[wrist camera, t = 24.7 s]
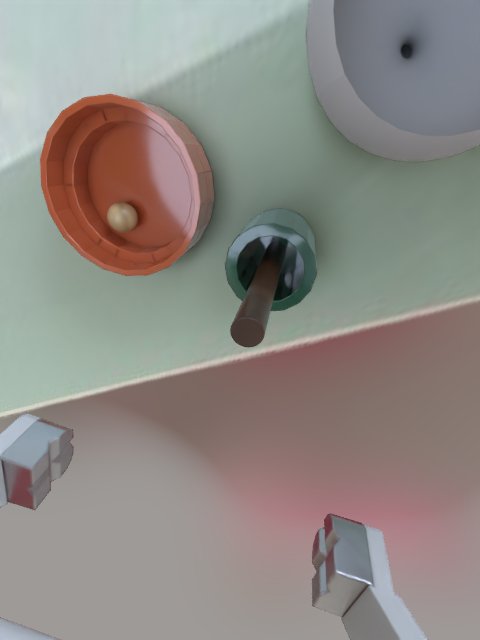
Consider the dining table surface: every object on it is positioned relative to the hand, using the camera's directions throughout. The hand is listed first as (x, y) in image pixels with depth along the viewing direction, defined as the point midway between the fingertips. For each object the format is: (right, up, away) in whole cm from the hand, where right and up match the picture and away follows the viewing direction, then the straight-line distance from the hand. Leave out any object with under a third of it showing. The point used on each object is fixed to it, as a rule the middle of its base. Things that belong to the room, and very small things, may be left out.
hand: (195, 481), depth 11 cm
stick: (+5, +12, +25) cm, 28 cm away
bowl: (-9, +19, +25) cm, 33 cm away
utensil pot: (+5, +13, +25) cm, 29 cm away
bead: (-11, +16, +25) cm, 31 cm away
